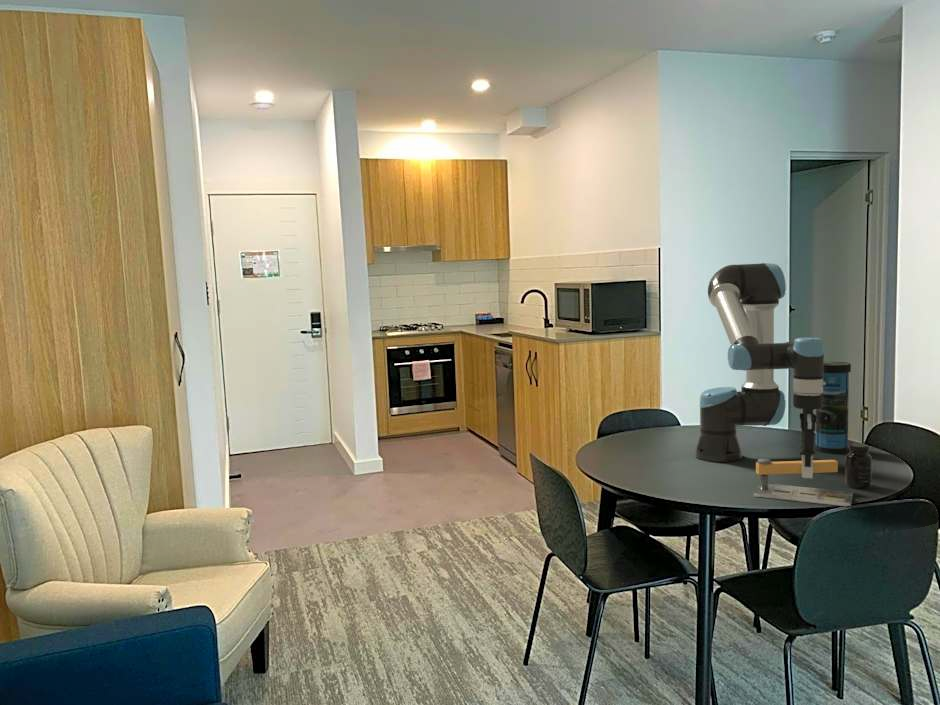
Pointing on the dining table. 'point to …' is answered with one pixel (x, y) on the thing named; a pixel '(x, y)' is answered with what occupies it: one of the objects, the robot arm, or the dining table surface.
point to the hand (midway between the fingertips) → (807, 477)
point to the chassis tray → (802, 493)
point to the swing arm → (794, 466)
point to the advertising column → (833, 409)
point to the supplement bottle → (858, 467)
